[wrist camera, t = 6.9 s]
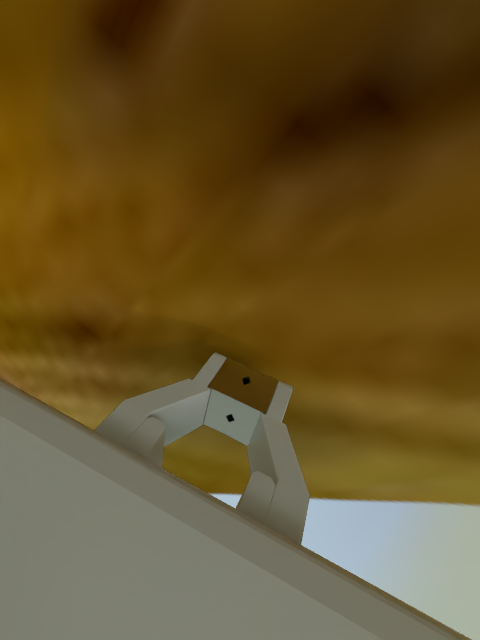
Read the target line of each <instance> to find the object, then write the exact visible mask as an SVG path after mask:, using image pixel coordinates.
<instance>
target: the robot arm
mask: <svg viewBox="0 0 480 640" xmlns="http://www.w3.org/2000/svg"><path fill="white" fill-rule="evenodd" d="M292 390H293V386H291V385H288V384H286V383H284V382H281V381H279V380H276V379H274V378H272V377H270V376H267V375H265V374H263V373H260V372H258V371H256V370H254V369H251V368H249V367H247V366H245V365H243V364H240V363H238V362H236V361H234V360H232V359H230V358H227V357H225V356H223V355H221V354H219V353H217V352H215V353H214V354H212V356H211V357H210V358H209V359H208V361H207V362H206V363H205V365H204V366H203V367H202V368H201V370H200V371H199V372H198V373H197V375H196V376H195V377H194V379H193V380H191V379H189V378H188V379H185V380H182V381H180V382H177V383H174V384H171V385H168V386H165V387H162V388H159V389H156V390H153V391H150V392H147V393H144V394H141V395H138V396H135V397H132V398H129V399H126V400H124V401H123V402H122V403H121V404H120V405H119V406H118V407H117V408H116V409H115V410H114V411H113V412H112V413H111V414H110V415H109V416H108V417H107V418H106V419H105V420H104V421H103V422H102V423H101V424H100V425H99V426H98V427H97V428H96V429H95V430H92V429H91V428H89V427H87V426H85V425H83V424H81V423H80V422H78V421H76V420H74V419H72V418H71V417H69V416H67V415H65V414H63V413H62V412H60V411H58V410H56V409H54V408H53V407H51V406H49V405H47V404H45V403H44V402H42V401H40V400H38V399H36V398H35V397H33V396H31V395H29V394H27V393H26V392H24V391H22V390H20V389H18V388H17V387H15V386H13V385H11V384H9V383H8V382H6V381H4V380H2V379H0V640H471V639H469V638H468V637H466V636H464V635H462V634H460V633H459V632H457V631H455V630H453V629H451V628H450V627H448V626H446V625H444V624H442V623H441V622H439V621H437V620H435V619H433V618H432V617H430V616H428V615H426V614H424V613H423V612H421V611H419V610H417V609H415V608H414V607H412V606H410V605H408V604H406V603H405V602H403V601H401V600H399V599H397V598H395V597H394V596H392V595H390V594H388V593H386V592H384V591H383V590H381V589H379V588H377V587H376V586H374V585H372V584H370V583H368V582H366V581H364V580H363V579H361V578H359V577H358V576H356V575H354V574H352V573H350V572H348V571H347V570H345V569H343V568H341V567H339V566H338V565H336V564H334V563H332V562H330V561H329V560H327V559H325V558H323V557H321V556H320V555H318V554H316V553H314V552H312V551H311V550H309V549H307V548H305V547H303V546H302V545H301V541H302V536H303V531H304V525H305V520H306V515H307V509H308V503H309V498H310V496H309V493H308V490H307V487H306V484H305V481H304V478H303V475H302V472H301V469H300V466H299V463H298V460H297V457H296V454H295V451H294V448H293V445H292V441H291V438H290V435H289V432H288V429H287V426H286V424H284V423H282V420H283V417H284V414H285V411H286V408H287V405H288V402H289V399H290V396H291V393H292ZM203 424H205V425H207V426H209V427H211V428H213V429H215V430H217V431H219V432H222V433H224V434H226V435H228V436H229V437H231V438H233V439H235V440H237V441H239V442H241V443H242V444H244V445H246V446H247V451H248V458H249V466H250V473H251V477H250V479H249V481H248V483H247V485H246V488H245V490H244V492H243V494H242V496H241V498H240V501H239V503H238V505H237V507H236V509H235V508H233V507H231V506H230V505H228V504H226V503H224V502H222V501H221V500H219V499H217V498H215V497H213V496H212V495H210V494H208V493H206V492H204V491H203V490H201V489H199V488H197V487H195V486H193V485H192V484H190V483H188V482H186V481H184V480H183V479H181V478H179V477H177V476H175V475H174V474H172V473H170V472H168V471H166V470H165V469H163V468H162V461H163V452H164V447H165V446H167V445H168V444H170V443H172V442H174V441H175V440H177V439H179V438H181V437H183V436H184V435H186V434H188V433H190V432H191V431H193V430H195V429H197V428H199V427H200V426H202V425H203Z"/></svg>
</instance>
